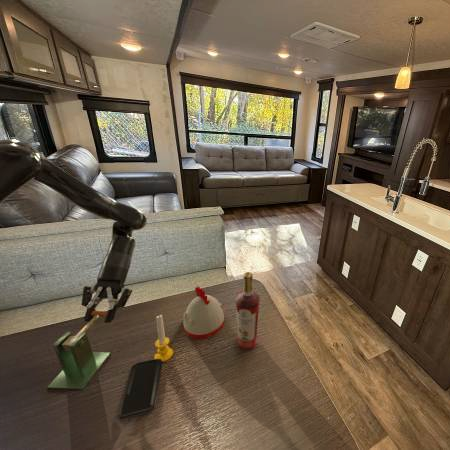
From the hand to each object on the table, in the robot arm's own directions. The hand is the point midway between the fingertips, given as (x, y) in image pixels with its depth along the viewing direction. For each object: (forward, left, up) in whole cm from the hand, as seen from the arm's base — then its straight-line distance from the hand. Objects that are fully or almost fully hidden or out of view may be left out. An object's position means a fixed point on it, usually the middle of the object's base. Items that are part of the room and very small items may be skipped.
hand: (98, 321), depth 75 cm
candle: (+20, -3, -10) cm, 22 cm away
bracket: (0, -9, -10) cm, 13 cm away
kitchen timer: (+28, +11, -10) cm, 31 cm away
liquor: (+45, +3, -10) cm, 46 cm away
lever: (0, -4, 0) cm, 4 cm away
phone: (+19, -13, -10) cm, 25 cm away
